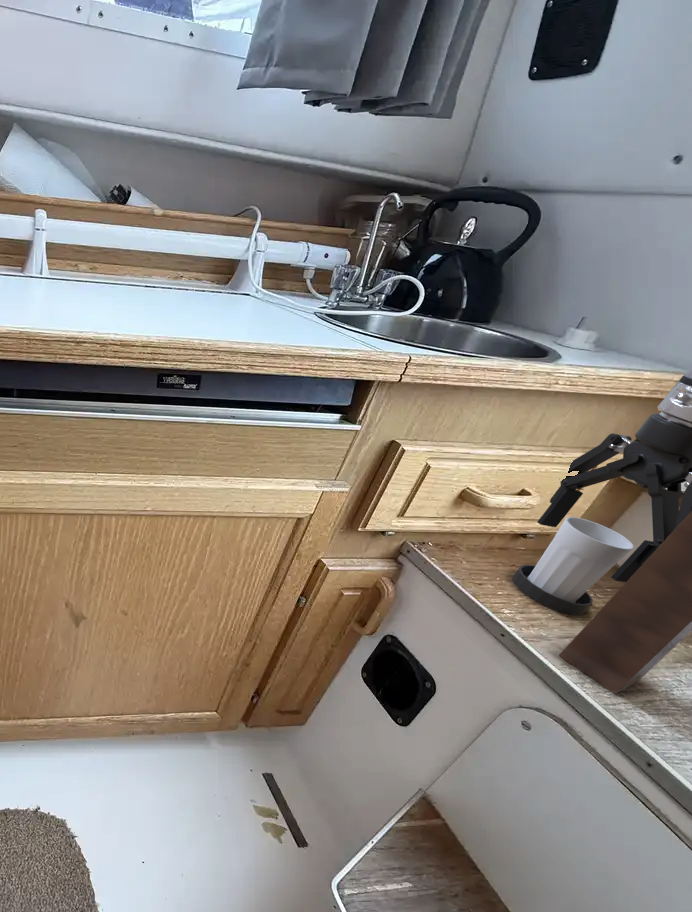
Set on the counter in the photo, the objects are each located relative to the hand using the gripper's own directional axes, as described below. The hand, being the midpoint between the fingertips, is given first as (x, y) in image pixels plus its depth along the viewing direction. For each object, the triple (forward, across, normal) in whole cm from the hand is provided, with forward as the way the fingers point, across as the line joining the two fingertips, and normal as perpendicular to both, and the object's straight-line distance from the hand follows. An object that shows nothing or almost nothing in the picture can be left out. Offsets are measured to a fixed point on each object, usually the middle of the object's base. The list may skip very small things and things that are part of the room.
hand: (581, 550), depth 82 cm
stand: (+8, +16, -6) cm, 19 cm away
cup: (+9, 0, 0) cm, 9 cm away
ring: (+8, 0, 0) cm, 9 cm away
